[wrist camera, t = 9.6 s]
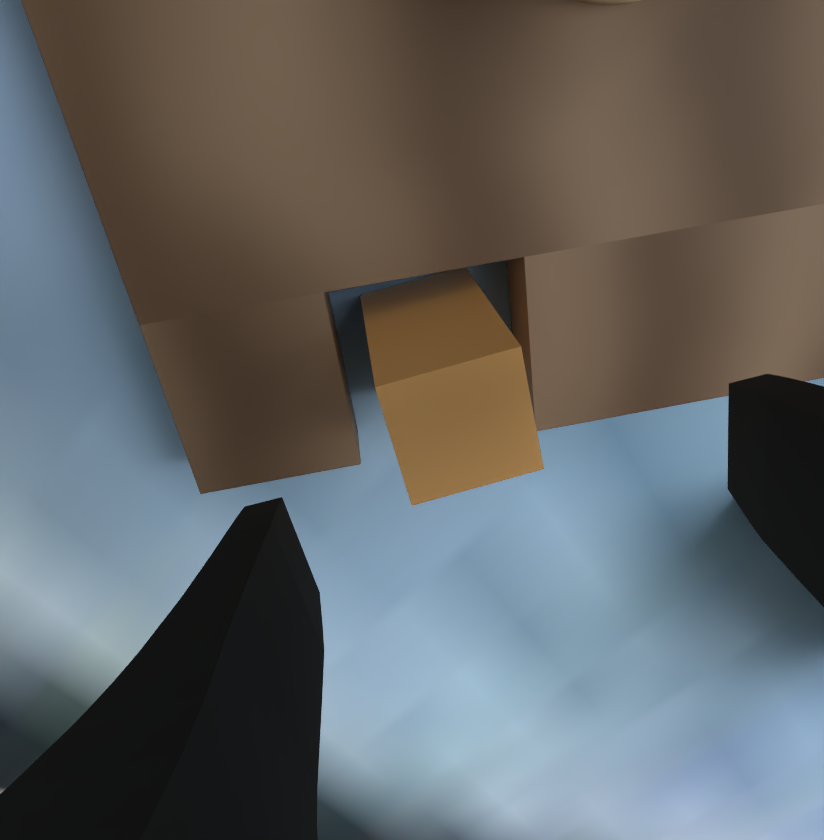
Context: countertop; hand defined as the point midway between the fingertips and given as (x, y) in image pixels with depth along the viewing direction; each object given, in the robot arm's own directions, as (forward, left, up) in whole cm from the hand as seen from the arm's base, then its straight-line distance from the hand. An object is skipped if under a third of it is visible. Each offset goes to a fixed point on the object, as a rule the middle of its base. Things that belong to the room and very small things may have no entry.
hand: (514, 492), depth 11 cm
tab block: (0, +1, -9) cm, 9 cm away
